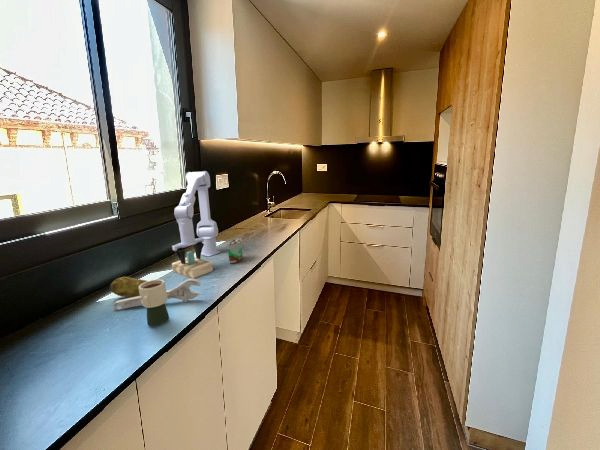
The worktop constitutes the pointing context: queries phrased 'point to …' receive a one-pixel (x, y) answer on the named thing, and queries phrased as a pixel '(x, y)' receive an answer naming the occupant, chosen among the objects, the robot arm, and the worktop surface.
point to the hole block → (192, 268)
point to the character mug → (154, 301)
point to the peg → (190, 258)
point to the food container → (235, 251)
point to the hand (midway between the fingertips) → (191, 261)
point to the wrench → (177, 292)
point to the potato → (126, 286)
